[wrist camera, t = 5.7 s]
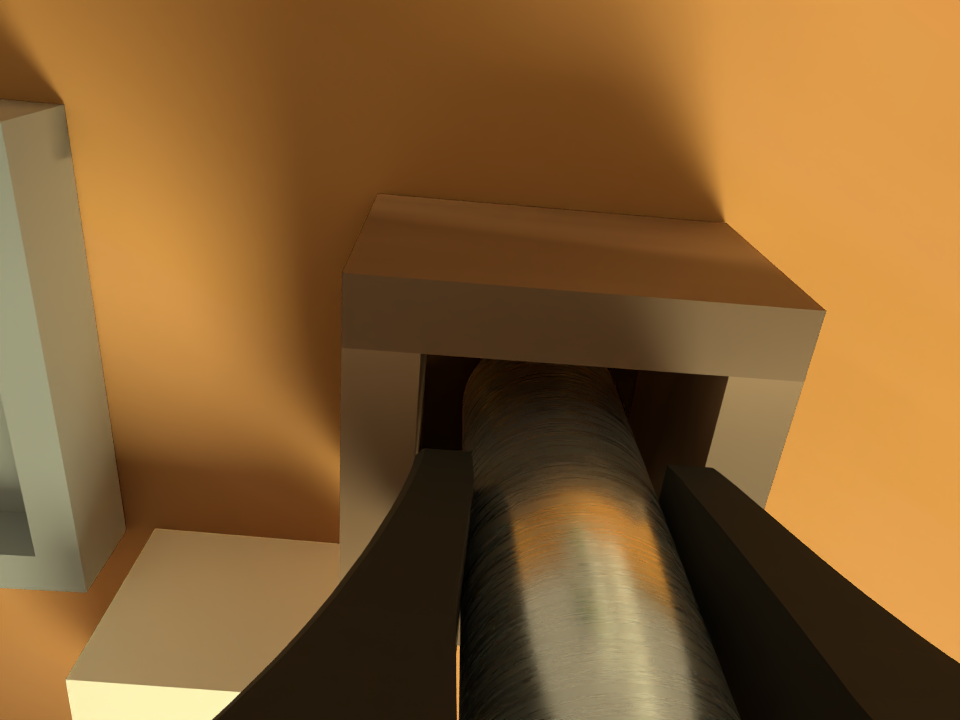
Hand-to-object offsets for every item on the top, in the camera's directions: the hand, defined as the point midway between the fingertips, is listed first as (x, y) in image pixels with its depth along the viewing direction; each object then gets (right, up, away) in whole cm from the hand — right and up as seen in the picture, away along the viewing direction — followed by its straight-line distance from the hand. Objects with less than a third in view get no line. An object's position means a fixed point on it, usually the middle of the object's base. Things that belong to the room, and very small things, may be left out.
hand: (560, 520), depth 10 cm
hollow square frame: (0, +2, +4) cm, 5 cm away
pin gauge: (0, +1, +3) cm, 3 cm away
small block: (-6, -4, +7) cm, 10 cm away
